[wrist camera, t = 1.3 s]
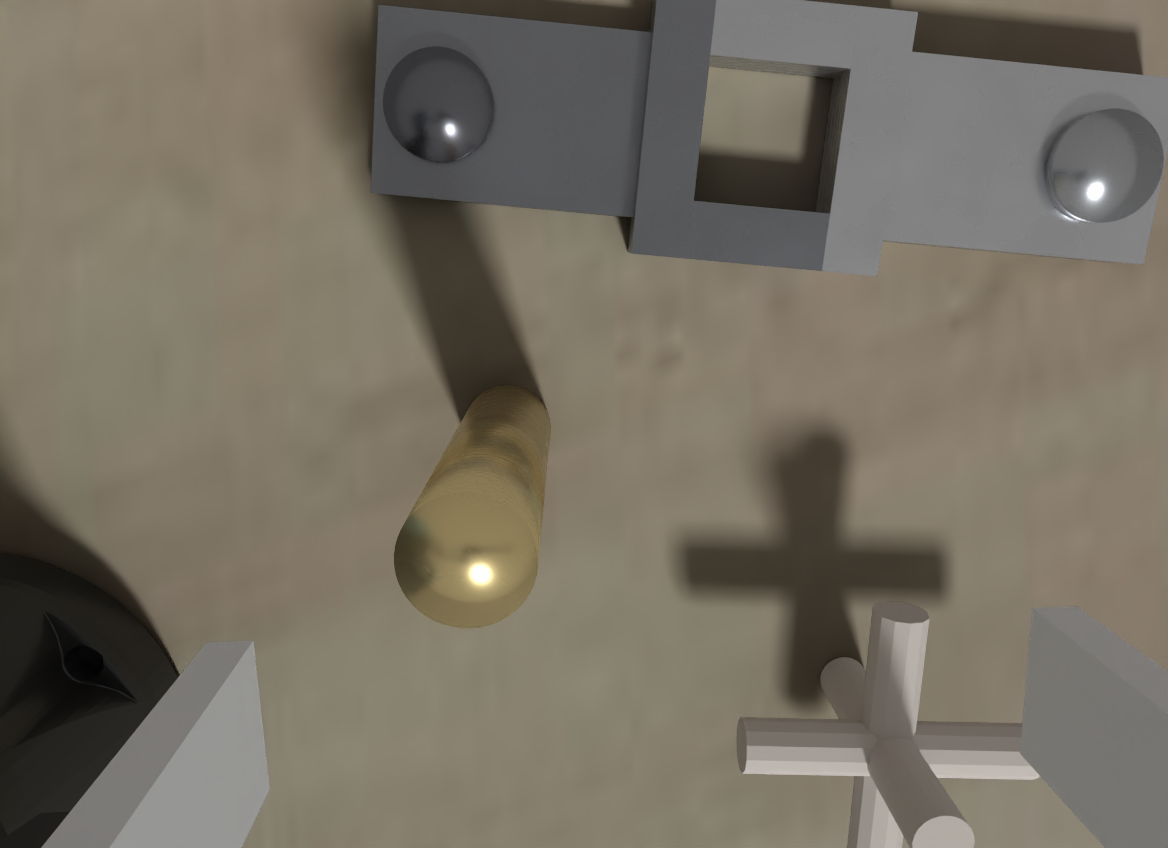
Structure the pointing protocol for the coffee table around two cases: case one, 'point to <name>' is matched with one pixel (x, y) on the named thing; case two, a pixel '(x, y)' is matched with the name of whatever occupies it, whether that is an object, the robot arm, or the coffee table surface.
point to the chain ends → (851, 150)
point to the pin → (480, 515)
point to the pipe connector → (887, 742)
